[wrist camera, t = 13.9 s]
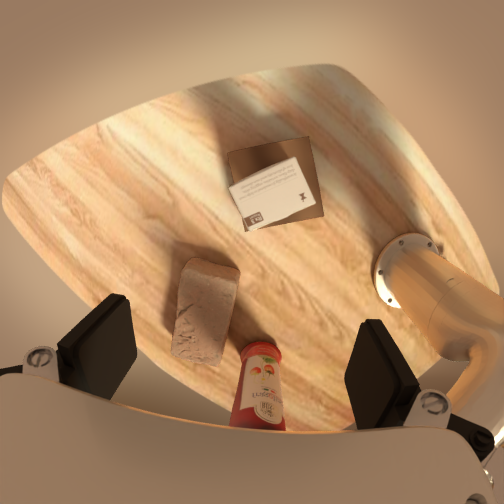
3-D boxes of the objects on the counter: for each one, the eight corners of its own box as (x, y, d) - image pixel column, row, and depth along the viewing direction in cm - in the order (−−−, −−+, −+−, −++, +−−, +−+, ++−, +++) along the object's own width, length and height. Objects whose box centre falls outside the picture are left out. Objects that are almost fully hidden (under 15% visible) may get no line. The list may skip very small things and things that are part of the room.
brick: (188, 255, 42) (179, 266, 37) (243, 268, 42) (239, 281, 37) (177, 341, 47) (169, 357, 42) (223, 353, 47) (219, 370, 42)
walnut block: (303, 140, 36) (308, 136, 31) (317, 210, 38) (324, 216, 34) (232, 154, 37) (226, 152, 32) (247, 223, 40) (245, 231, 35)
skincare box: (289, 157, 32) (296, 150, 20) (304, 191, 33) (320, 202, 21) (242, 178, 33) (224, 183, 21) (258, 212, 34) (249, 234, 22)
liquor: (232, 359, 46) (205, 505, 20) (251, 329, 44) (233, 488, 18) (269, 374, 47) (265, 516, 20) (290, 346, 45) (302, 500, 18)
